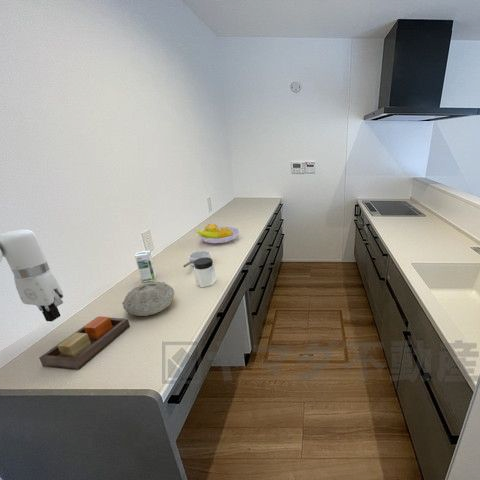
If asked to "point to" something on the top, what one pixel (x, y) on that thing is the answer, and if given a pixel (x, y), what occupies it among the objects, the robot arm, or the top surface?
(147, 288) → the grey rounded stone
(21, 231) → the robot arm
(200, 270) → the jar
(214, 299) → the top surface
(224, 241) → the fruit bowl
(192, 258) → the saucepan
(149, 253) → the syrup box
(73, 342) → the soap bar tray
